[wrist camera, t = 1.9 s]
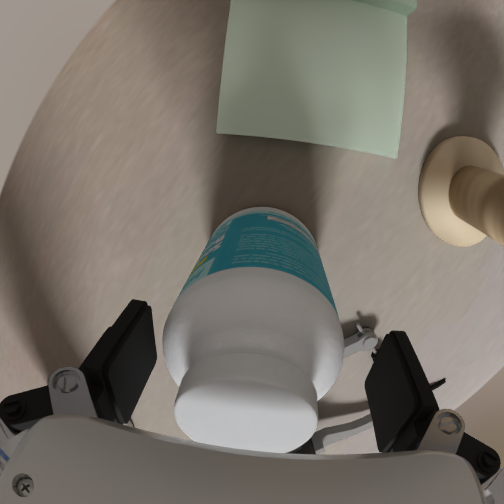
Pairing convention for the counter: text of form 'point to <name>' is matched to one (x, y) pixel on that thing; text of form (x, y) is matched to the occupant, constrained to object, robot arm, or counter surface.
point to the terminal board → (316, 72)
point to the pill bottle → (254, 336)
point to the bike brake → (336, 433)
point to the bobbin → (463, 192)
